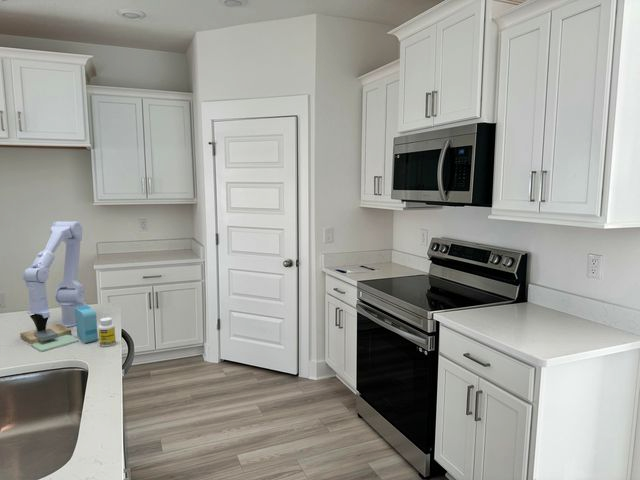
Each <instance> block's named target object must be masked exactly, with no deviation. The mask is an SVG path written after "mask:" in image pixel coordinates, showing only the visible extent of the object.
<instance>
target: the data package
mask: <svg viewBox="0 0 640 480" xmlns="http://www.w3.org/2000/svg"><path fill="white" fill-rule="evenodd" d="M75 317H76V325H75V326H76V335H77V337H78V338H79V340H81V342H83V343H84V344H86V343H91V342H95V341H99V340H98V339H99V333H98V325H97V314H96V311H95V309H93V308H92V307H91V306H89V305H88V304H87V306H81V307H76V308H75Z"/></svg>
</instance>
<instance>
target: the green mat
mask: <svg viewBox="0 0 640 480" xmlns="http://www.w3.org/2000/svg"><path fill="white" fill-rule="evenodd" d="M79 342H80V339H78V338H76V337H74V336H71V335H64V336H60V337H57V338H53V339H49V340H45V341H41V342H37V343H34V344H30V346H31V347H32V348H33V349H36V351H39V352H40V353H43V352H46V351H51V350H54V349H58V348H62V347H64V346H69V345H71V344H75V343H79Z"/></svg>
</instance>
